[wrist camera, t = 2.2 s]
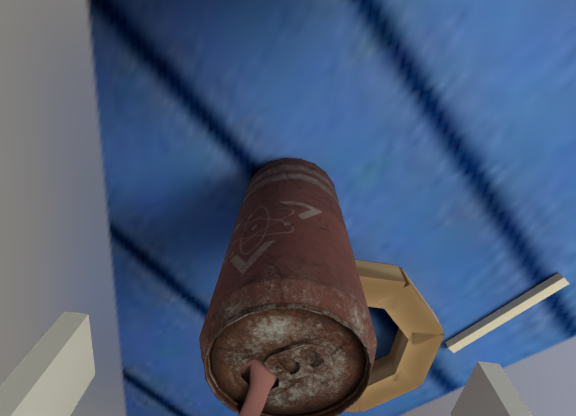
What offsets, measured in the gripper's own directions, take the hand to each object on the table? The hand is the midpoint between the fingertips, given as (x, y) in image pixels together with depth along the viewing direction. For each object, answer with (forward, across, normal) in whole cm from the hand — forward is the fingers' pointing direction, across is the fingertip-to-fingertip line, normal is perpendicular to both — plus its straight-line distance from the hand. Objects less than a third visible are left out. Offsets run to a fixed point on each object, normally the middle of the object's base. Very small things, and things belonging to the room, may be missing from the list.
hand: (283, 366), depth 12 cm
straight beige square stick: (+13, +18, -6) cm, 23 cm away
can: (+14, 0, 0) cm, 14 cm away
